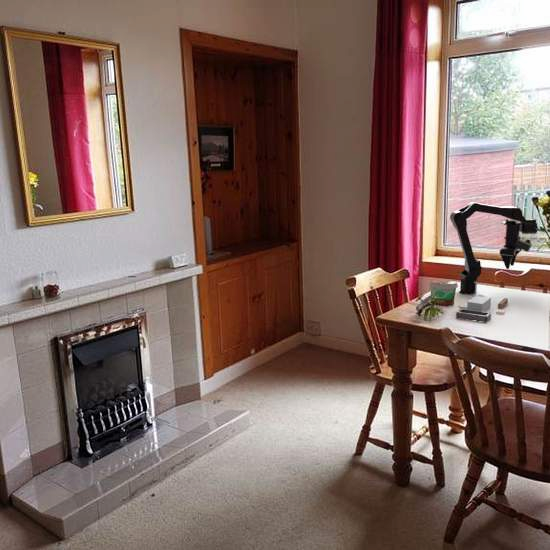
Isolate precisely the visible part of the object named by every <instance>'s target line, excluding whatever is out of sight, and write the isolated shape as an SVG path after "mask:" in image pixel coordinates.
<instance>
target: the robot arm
mask: <svg viewBox="0 0 550 550" xmlns="http://www.w3.org/2000/svg"><path fill="white" fill-rule="evenodd" d="M476 212H479V213H485V214H490V215H496V216H501V217H504V218H505V219H504V221H502V222H501V224H502V225H503V226H506V227H505V236H504V245H503V247H502V248H501V249H500V250H499V255H500V257H501V259H502V261H503V264H504V267H505V269H506V270H509V269H510V267H511V266H512V267H513V266H514V265H515V262H516V259H517V256H518V254H520V253H521V252H522V251H525V252H529V251H530V249H531V248H532V246H533V243H532V240H531V239H526V240H524V239H521V236H520V233H521V234H522V235H536V234H537V233H538V231H539V230H536V229H535V228H538V229H539V226H538V223H537V219H535V218H531V219H526V218H525V216H524V215H523V210H522V209H521V208H520V207H516V206H513V205H511V206H497V205H490V204H483V203H479V202H475V201H471V202H470V203H469V204H467V205H465V206H463V207H460V209H458V210H454V211H452V213H451V214H450V216H449V219H450V221H451V224H452V226H453V227H454V229H455V230H456V232H457V236H458V239H459V242H460V246H461V249H462V253H463V256H464V269H463V270H462V271H461V272H460V273H459V276H460V288H459V289H460V290H459V291H458V292H459V293H461V294H467V295H474V294H475V293H477V289H478V288H477V287H478V283H477V280H478V279H479V277H480V276H481V274H482V270H483V267H482V265H481V261H480V260H479V259H477V258H476V257H475V255H474V252H473V251H474V250H473V247H472V243H471V241H470V237H469V234H468V230H467V229H468V227H467V226H468V223H467V219H469V218H470V217H471V216H472V215H474V214H475V213H476ZM509 219H510V220H509ZM516 221H517V222H516Z"/></svg>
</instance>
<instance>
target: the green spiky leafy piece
mask: <svg viewBox="0 0 550 550" xmlns="http://www.w3.org/2000/svg"><path fill="white" fill-rule="evenodd" d="M434 296H435V294H433V296H431V294H430V295H428V296H427V297H425V298H424V299H422V298H423V297H424V294H421V295H419V296H418V297H417V298H416V300H415V302H418V301H420V303H419V304H418V305H416V306H415V310H416V311H417V312H416V313H415V315H417V316H418V317H419V316H421V314H422V313H423V320H424V321H427V319H428V320H432V319H434V318H436V317H437V318H440V317H439V314H442V315H444V312H443V311H442V310H443V307H438V306H437V298H436V296H435V298H434V299H435V300H434V299H433V297H434ZM435 301H436V305H434V304H435Z"/></svg>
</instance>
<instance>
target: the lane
mask: <svg viewBox="0 0 550 550" xmlns="http://www.w3.org/2000/svg"><path fill="white" fill-rule="evenodd" d="M477 296H483V295H482V294H479V295H477ZM483 297H484V296H483ZM508 302H509V298H505V297H504V298H503V299H500V301H499V302H498V303H497V309H499V308H500V309H499V310H503V308H504V307H505V306H506V305H507V304H508Z"/></svg>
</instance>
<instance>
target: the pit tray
mask: <svg viewBox="0 0 550 550" xmlns="http://www.w3.org/2000/svg"><path fill="white" fill-rule="evenodd" d="M455 314H456V315H455V318H456V319H459V318H460V320H466V319H468V320H467V321H472V320H476V321H475V322H479V321H483V322H482V323H486V322H487V321H488V322H489V321H491V319H492V312H488V311H486V312H482V311H475V310H468V309H458V310H457V311H456V313H455ZM488 322H487V323H488Z"/></svg>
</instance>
